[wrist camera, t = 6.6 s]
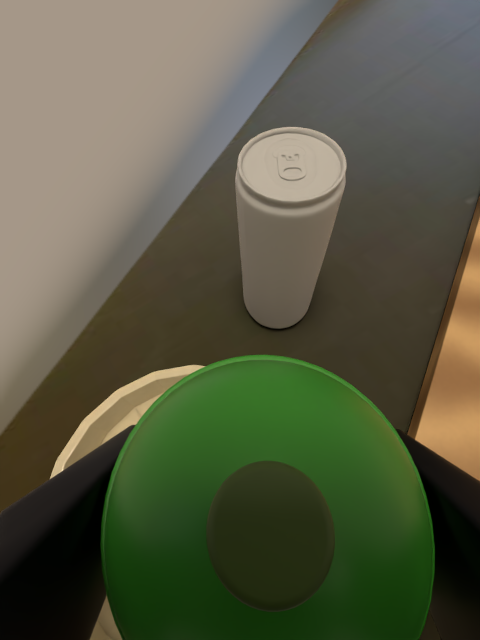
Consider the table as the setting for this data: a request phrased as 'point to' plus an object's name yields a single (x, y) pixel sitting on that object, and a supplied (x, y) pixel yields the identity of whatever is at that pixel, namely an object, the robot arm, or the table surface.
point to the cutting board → (455, 369)
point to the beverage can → (286, 219)
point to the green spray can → (266, 513)
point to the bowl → (105, 425)
